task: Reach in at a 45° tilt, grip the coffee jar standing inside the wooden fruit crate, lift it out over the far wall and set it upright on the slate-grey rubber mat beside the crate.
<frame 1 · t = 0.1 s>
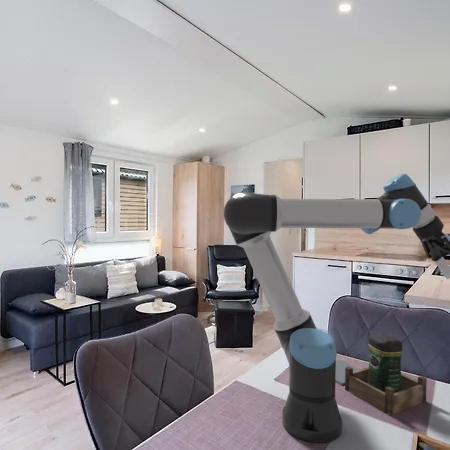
wooden fruit crate: (384, 395, 105), on the table
coffee jar: (384, 396, 105), resting in wooden fruit crate
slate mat: (340, 372, 121), on the table
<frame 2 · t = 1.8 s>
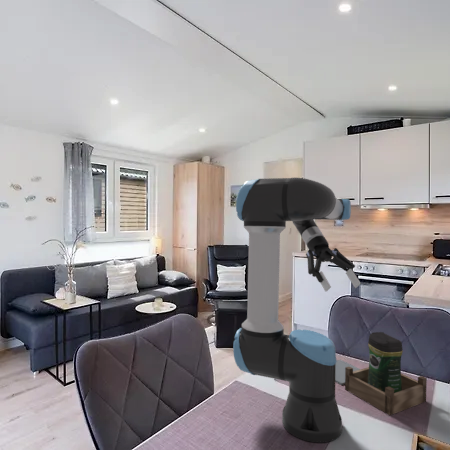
hand: (343, 287, 120), 30 cm above the table, tool tilted 45°, fingers open, 13 cm apart
nothing on the table moved.
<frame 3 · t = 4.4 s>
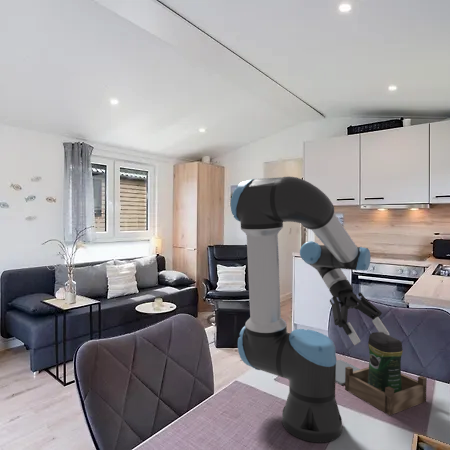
hand: (372, 339, 110), 15 cm above the table, tool tilted 45°, fingers open, 13 cm apart
nothing on the table moved.
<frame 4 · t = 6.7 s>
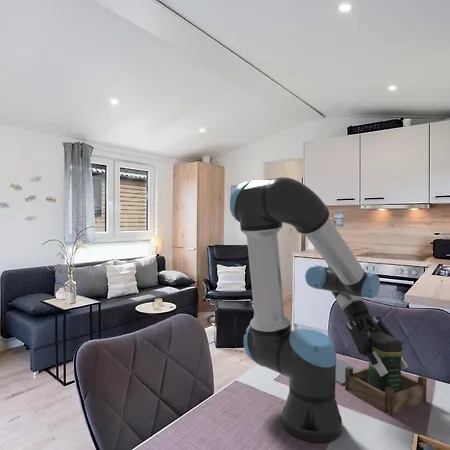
hand: (394, 371, 102), 9 cm above the table, tool tilted 45°, fingers closed on coffee jar, 8 cm apart
coffee jar: (384, 395, 105), resting in wooden fruit crate, touching gripper
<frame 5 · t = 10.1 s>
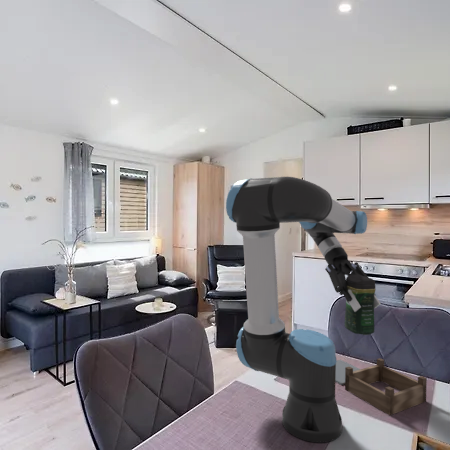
hand: (367, 307, 111), 25 cm above the table, tool tilted 45°, fingers closed on coffee jar, 8 cm apart
coffee jar: (359, 331, 115), point 16 cm above the table, touching gripper
when the fingers open (11 cm above the table, at t = 13.8 s): coffee jar drops 1 cm, resting on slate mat.
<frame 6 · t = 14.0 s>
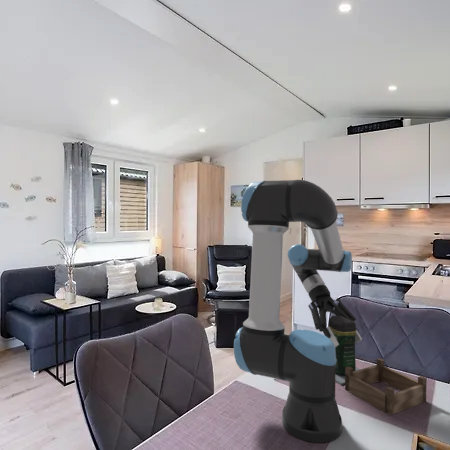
hand: (347, 343, 118), 11 cm above the table, tool tilted 45°, fingers open, 10 cm apart
coffee jar: (341, 370, 121), resting on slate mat
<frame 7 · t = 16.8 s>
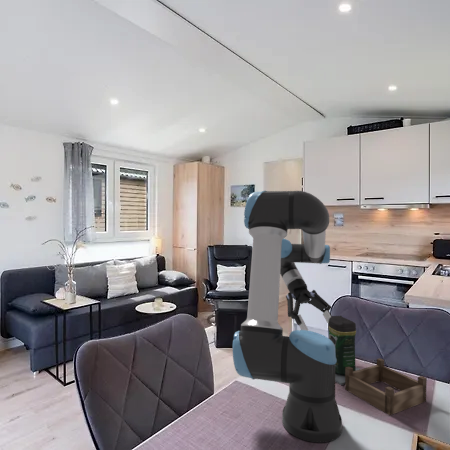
hand: (320, 329, 130), 12 cm above the table, tool tilted 45°, fingers open, 13 cm apart
nothing on the table moved.
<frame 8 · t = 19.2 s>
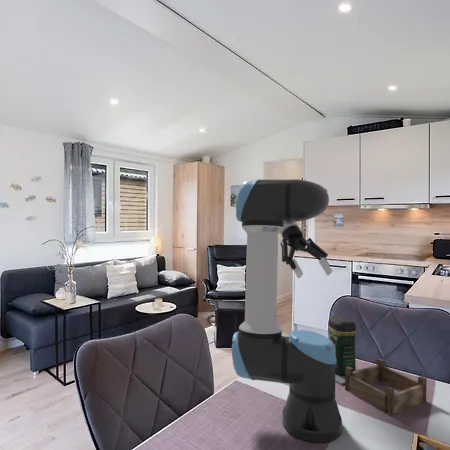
hand: (315, 274, 123), 34 cm above the table, tool tilted 45°, fingers open, 13 cm apart
nothing on the table moved.
at the end: coffee jar inside the target area on the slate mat (0.3 cm from its centre), point 0.4 cm above the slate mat's base; coffee jar tilted 0°; the gripper is holding nothing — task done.
